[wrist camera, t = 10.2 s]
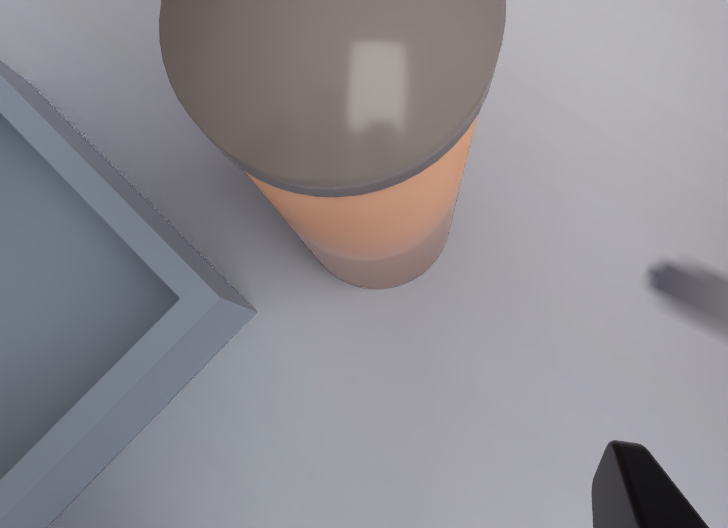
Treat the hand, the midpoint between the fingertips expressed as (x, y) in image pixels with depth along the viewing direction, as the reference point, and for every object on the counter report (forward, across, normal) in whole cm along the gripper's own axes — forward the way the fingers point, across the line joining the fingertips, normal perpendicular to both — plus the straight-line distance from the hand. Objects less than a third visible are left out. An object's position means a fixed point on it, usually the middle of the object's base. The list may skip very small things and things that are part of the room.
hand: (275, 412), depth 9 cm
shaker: (+13, 0, +4) cm, 13 cm away
